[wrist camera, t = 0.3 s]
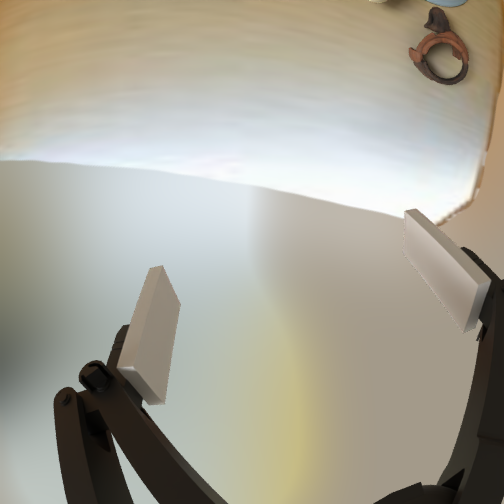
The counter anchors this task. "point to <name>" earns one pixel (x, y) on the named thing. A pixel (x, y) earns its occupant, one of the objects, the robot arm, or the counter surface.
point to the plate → (447, 2)
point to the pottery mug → (440, 25)
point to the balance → (377, 1)
